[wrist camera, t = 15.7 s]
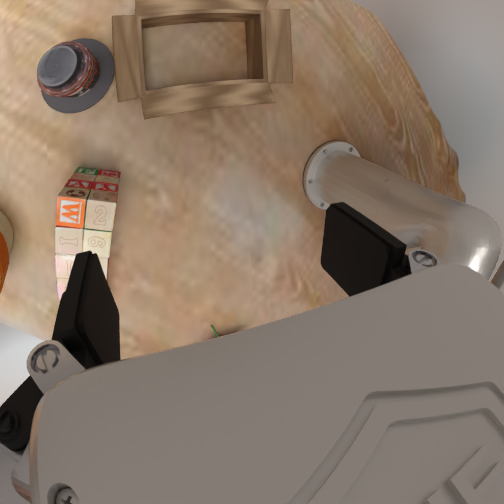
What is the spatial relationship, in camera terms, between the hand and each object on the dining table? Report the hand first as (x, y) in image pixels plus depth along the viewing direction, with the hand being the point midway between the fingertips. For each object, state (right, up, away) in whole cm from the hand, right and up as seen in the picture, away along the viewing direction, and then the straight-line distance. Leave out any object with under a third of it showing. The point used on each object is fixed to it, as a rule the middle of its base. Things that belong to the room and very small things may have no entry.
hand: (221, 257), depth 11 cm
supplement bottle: (-20, +22, +14) cm, 32 cm away
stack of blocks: (-22, +2, +26) cm, 34 cm away
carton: (-6, +26, +19) cm, 32 cm away
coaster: (-20, +22, +14) cm, 33 cm away
